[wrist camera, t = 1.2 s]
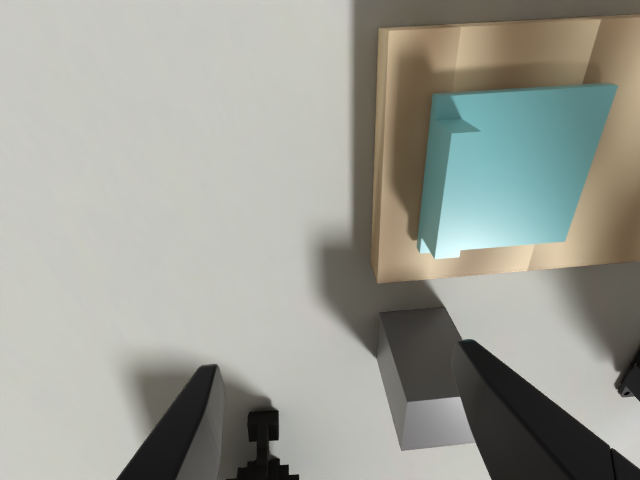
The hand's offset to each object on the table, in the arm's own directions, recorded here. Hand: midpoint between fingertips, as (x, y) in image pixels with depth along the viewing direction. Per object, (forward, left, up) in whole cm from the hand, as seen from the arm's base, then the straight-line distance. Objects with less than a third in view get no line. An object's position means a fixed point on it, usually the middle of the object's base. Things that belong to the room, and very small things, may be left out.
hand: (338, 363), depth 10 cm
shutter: (-10, 0, -11) cm, 14 cm away
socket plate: (-15, 0, -13) cm, 20 cm away
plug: (-7, +13, -13) cm, 20 cm away
